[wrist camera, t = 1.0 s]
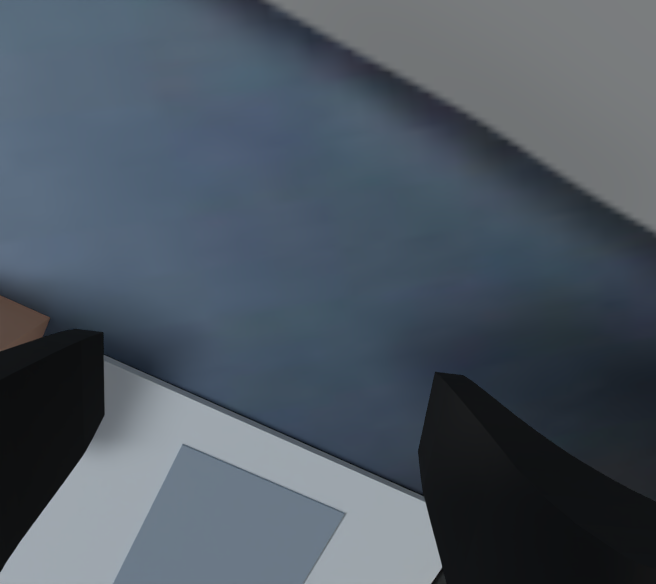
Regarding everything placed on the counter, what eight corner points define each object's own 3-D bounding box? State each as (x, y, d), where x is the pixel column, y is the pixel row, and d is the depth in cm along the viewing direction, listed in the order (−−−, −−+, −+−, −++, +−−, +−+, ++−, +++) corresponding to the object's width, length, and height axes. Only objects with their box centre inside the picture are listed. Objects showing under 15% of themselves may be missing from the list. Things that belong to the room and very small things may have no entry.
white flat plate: (307, 757, 27) (307, 768, 26) (-41, 635, 24) (-49, 645, 24) (469, 516, 23) (472, 524, 23) (81, 345, 21) (76, 349, 20)
